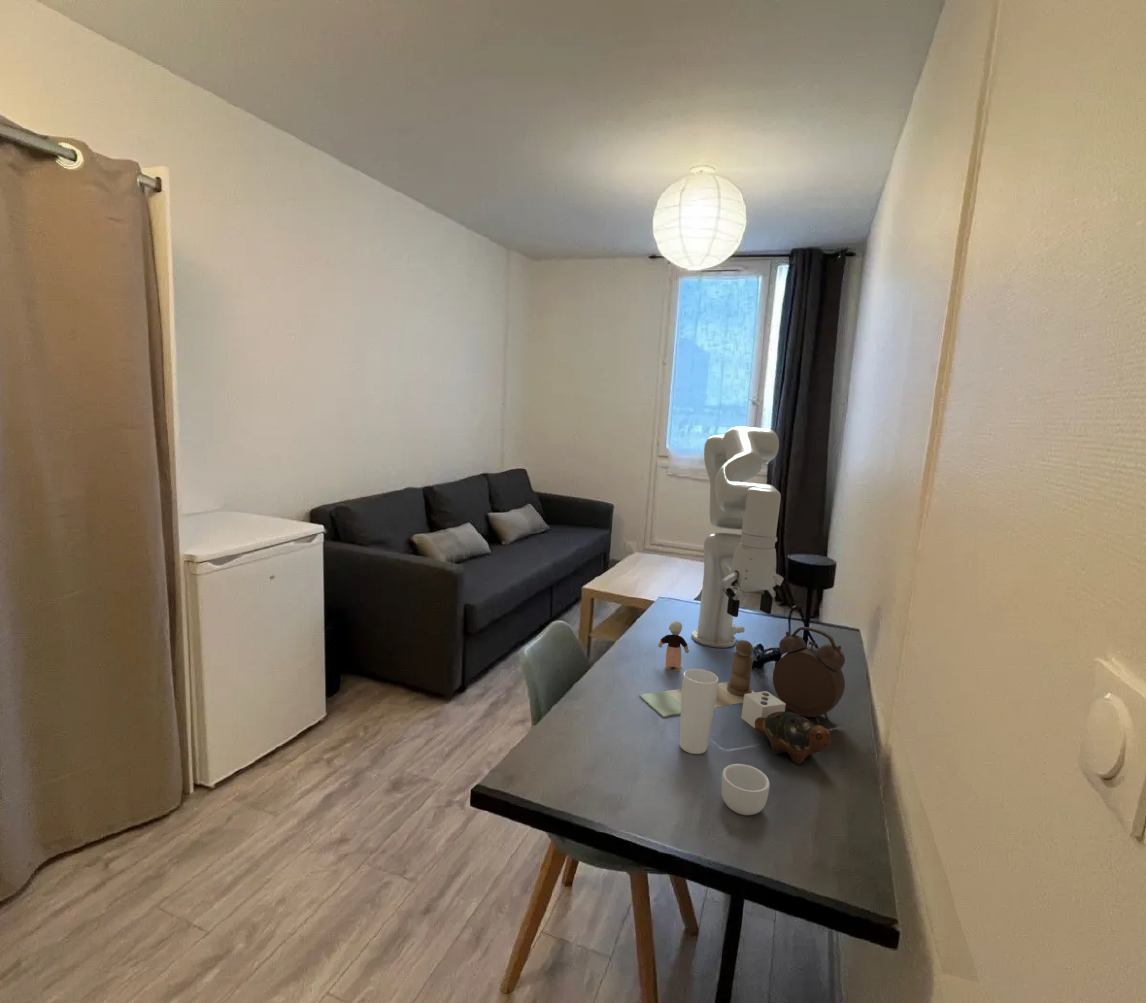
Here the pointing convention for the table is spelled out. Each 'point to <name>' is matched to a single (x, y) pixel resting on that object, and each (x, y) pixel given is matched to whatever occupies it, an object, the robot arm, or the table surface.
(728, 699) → the track board
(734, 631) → the robot arm
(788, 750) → the decorative turtle
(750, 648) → the pawn
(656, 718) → the table surface
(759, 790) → the teacup
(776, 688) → the alarm clock
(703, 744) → the drinking glass
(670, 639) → the grandmother figurine
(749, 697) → the die
